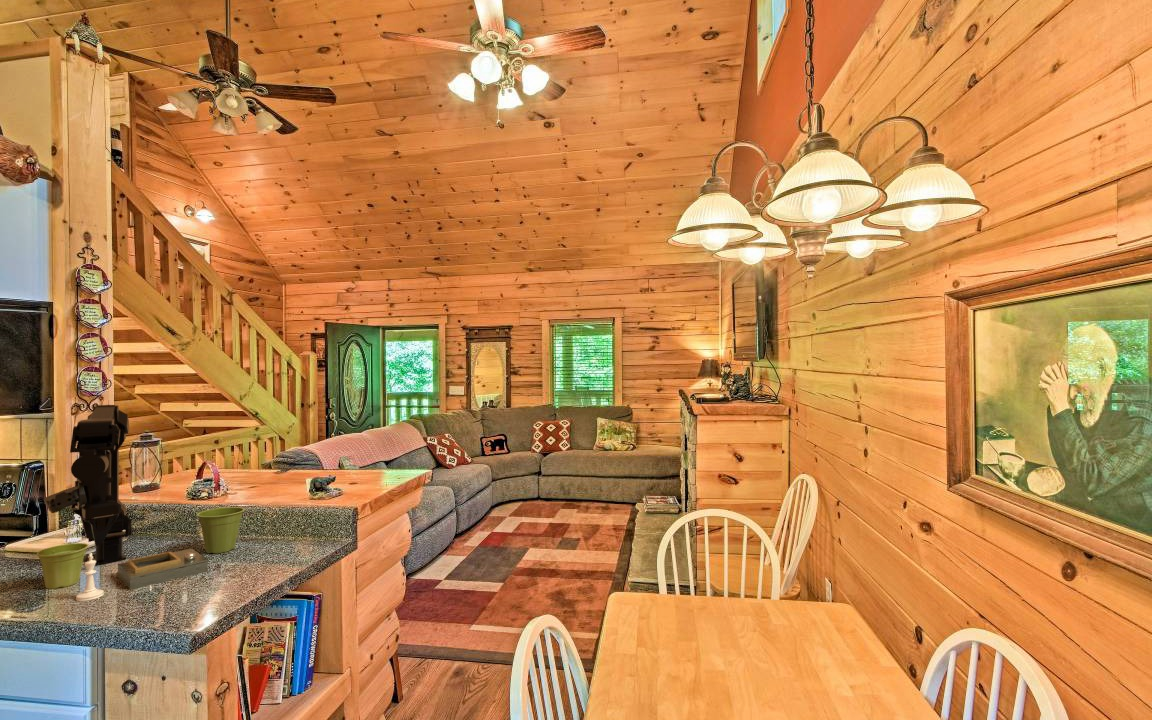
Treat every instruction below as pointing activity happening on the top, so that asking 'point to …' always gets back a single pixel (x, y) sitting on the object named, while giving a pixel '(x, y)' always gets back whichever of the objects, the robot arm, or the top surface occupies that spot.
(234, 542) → the plant pot
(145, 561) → the grey hollow block
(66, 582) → the plant pot
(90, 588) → the chess piece
